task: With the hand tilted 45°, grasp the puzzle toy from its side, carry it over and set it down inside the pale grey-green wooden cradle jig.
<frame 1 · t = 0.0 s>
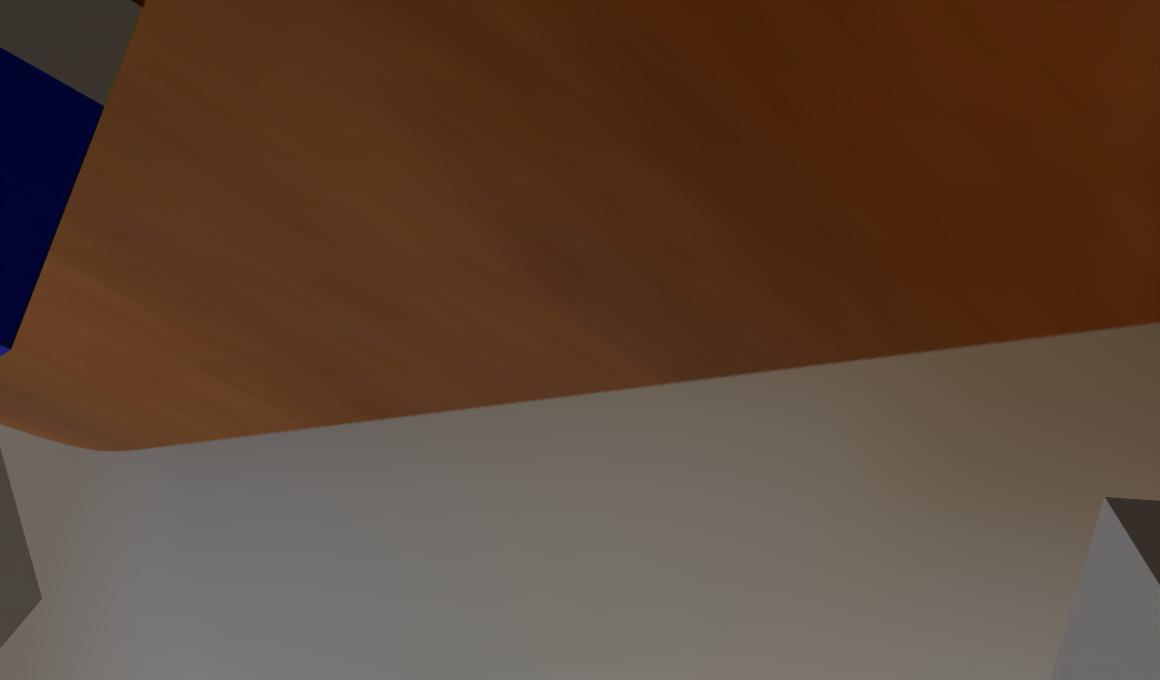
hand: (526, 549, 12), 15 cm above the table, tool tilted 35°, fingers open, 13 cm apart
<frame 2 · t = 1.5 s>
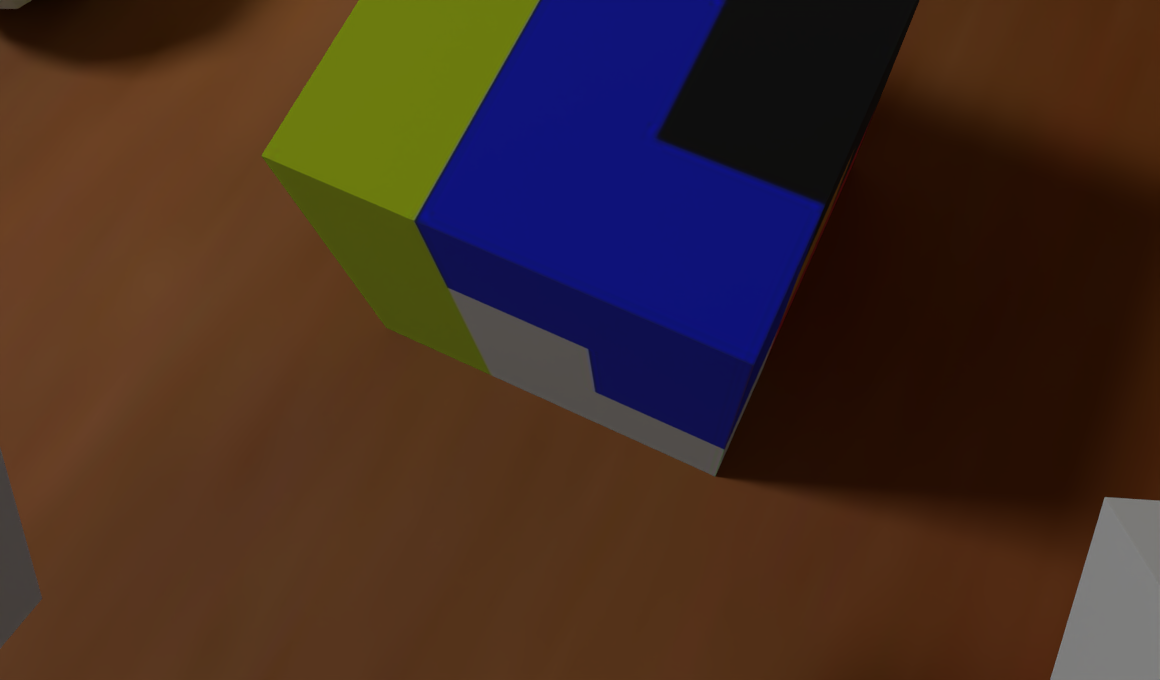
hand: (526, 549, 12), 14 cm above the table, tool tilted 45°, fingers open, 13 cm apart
puzzle toy: (622, 249, 29), on the table
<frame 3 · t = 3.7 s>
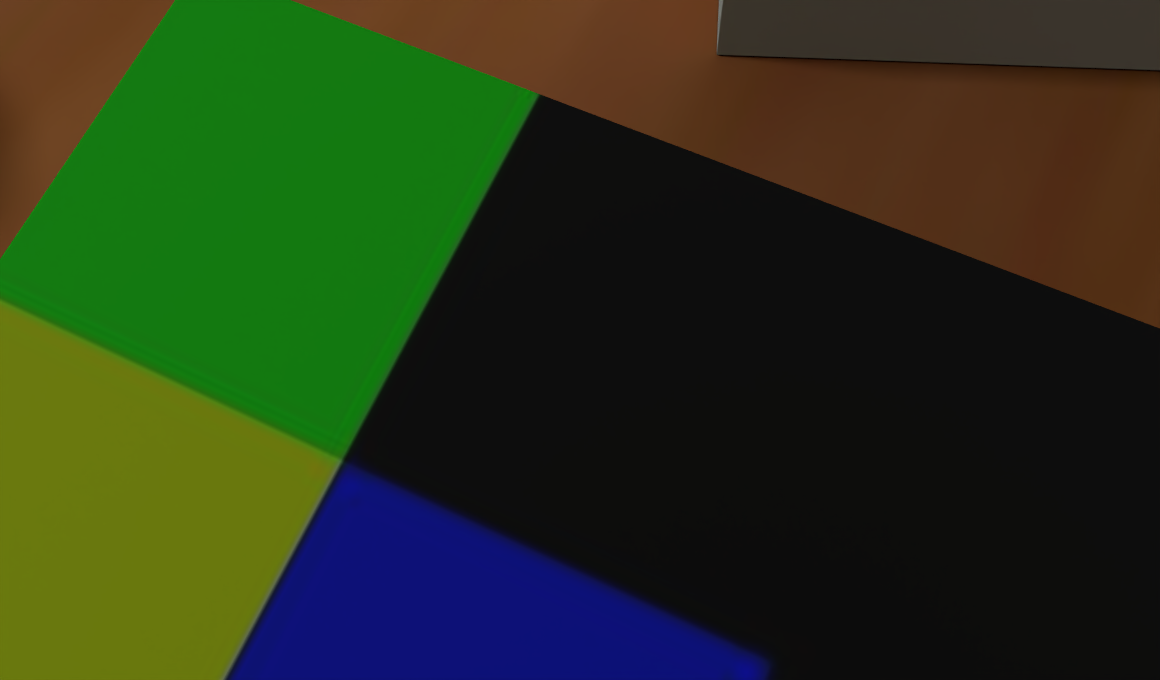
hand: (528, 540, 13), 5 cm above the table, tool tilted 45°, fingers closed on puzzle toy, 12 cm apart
when the fingers open (7 cm above the table, at t = 9.4 s): puzzle toy drops 2 cm, resting on cradle.
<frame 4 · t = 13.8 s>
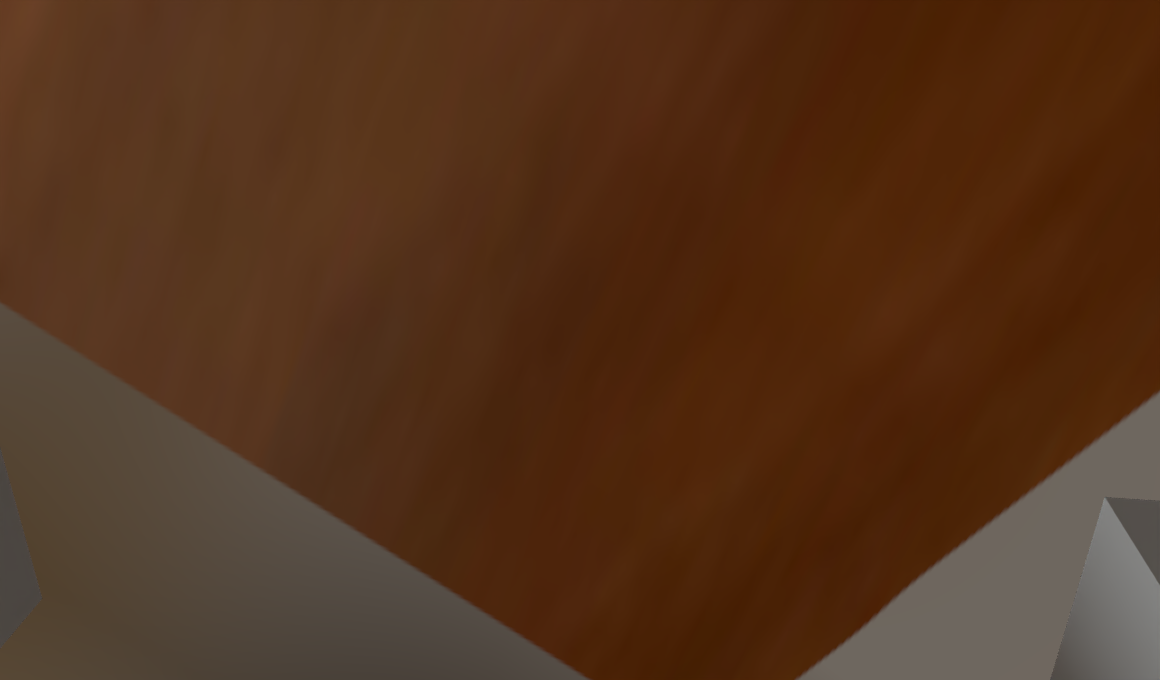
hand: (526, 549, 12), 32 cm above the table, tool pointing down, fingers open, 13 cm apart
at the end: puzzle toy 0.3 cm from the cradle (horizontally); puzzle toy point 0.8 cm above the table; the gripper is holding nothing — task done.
